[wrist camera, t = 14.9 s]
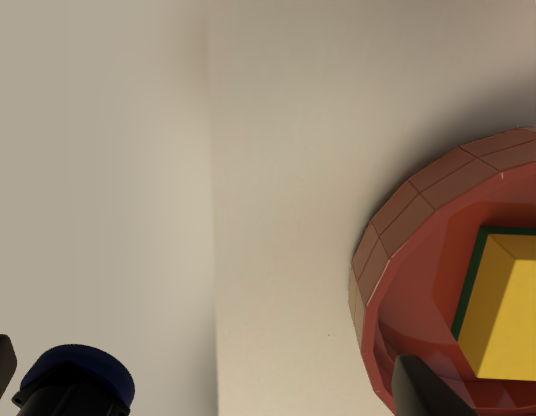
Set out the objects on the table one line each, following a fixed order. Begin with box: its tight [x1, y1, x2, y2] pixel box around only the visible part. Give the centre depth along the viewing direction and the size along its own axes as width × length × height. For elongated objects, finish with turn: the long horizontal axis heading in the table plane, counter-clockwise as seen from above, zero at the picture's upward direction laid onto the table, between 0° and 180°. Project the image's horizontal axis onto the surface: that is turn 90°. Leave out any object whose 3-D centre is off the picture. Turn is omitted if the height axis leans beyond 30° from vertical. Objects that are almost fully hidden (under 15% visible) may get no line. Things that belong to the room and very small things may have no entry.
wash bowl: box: [348, 127, 536, 416], centre depth 19 cm, size 17×17×4 cm
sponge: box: [451, 226, 536, 381], centre depth 19 cm, size 7×5×3 cm, turn 179°
